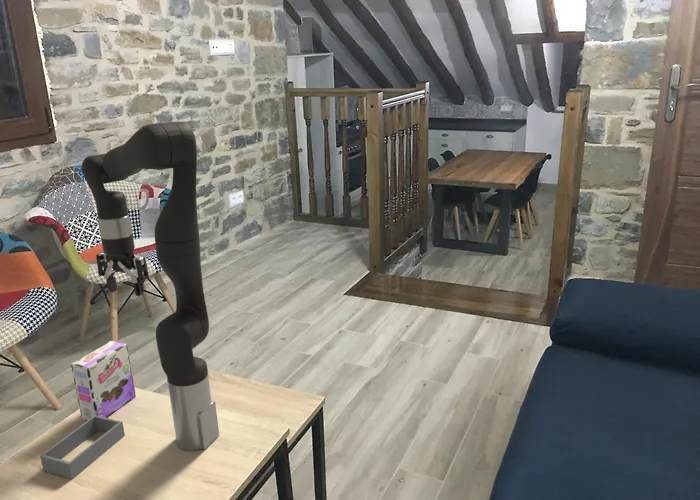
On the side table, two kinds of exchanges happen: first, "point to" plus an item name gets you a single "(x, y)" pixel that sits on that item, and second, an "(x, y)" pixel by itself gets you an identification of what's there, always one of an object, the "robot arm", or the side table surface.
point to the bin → (74, 439)
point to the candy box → (103, 380)
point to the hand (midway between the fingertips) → (126, 293)
